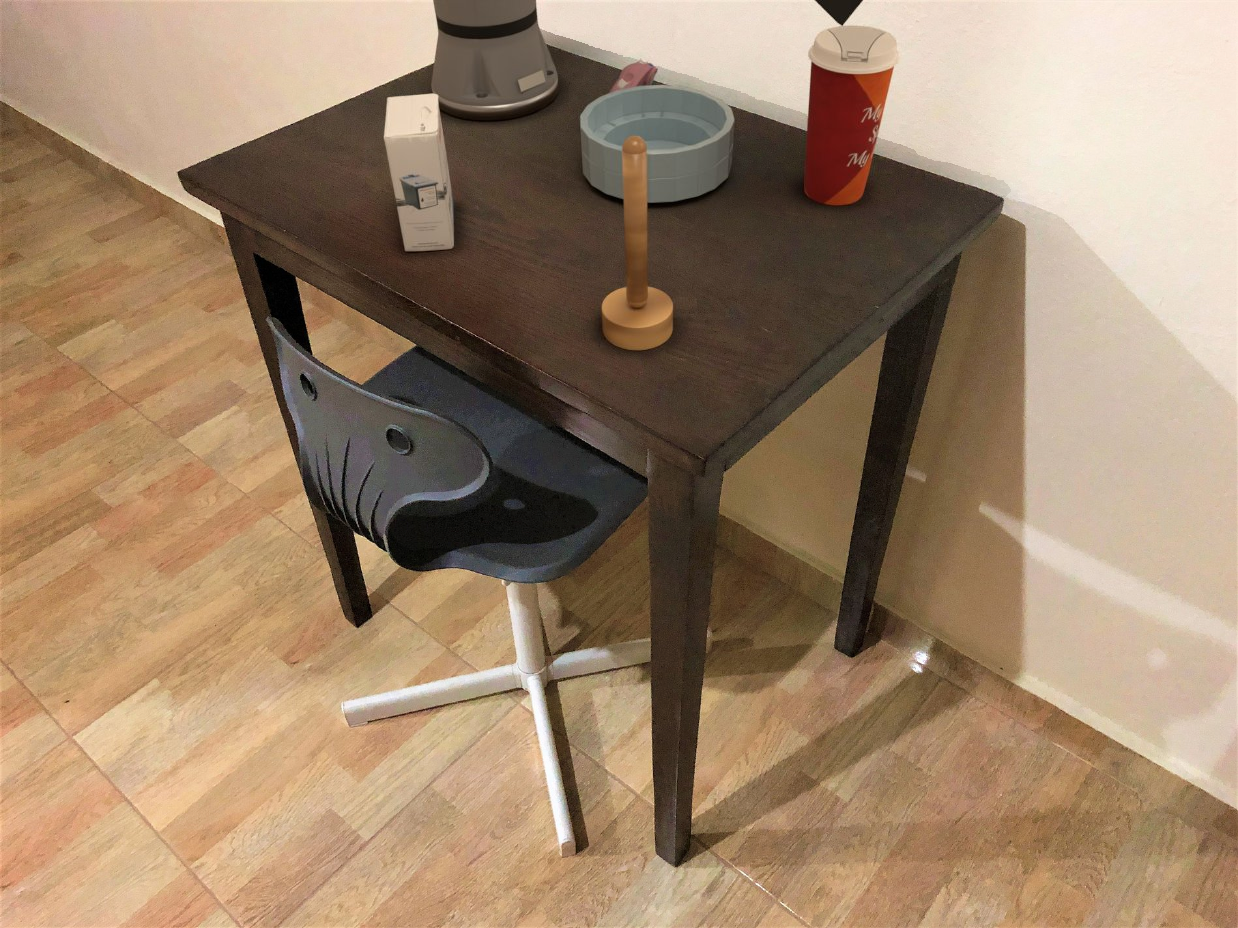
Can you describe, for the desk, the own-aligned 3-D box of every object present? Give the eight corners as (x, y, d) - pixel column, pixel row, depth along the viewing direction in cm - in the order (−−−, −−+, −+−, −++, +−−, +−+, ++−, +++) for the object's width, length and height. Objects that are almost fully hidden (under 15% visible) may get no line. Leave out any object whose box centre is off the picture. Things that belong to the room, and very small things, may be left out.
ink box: (407, 208, 95) (384, 95, 86) (457, 204, 95) (438, 90, 87) (405, 254, 89) (379, 137, 80) (458, 249, 89) (437, 132, 81)
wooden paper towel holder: (588, 326, 80) (576, 135, 68) (642, 300, 82) (639, 111, 70) (632, 360, 76) (628, 165, 64) (687, 331, 79) (692, 138, 67)
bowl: (554, 169, 100) (549, 115, 96) (664, 125, 106) (665, 72, 102) (647, 226, 91) (646, 169, 87) (761, 175, 98) (766, 119, 93)
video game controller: (614, 147, 106) (639, 96, 101) (581, 124, 106) (604, 73, 101) (645, 110, 113) (670, 61, 107) (613, 89, 112) (636, 39, 107)
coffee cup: (874, 214, 91) (902, 60, 81) (790, 208, 93) (807, 55, 82) (875, 173, 97) (902, 24, 87) (795, 168, 98) (812, 20, 88)
